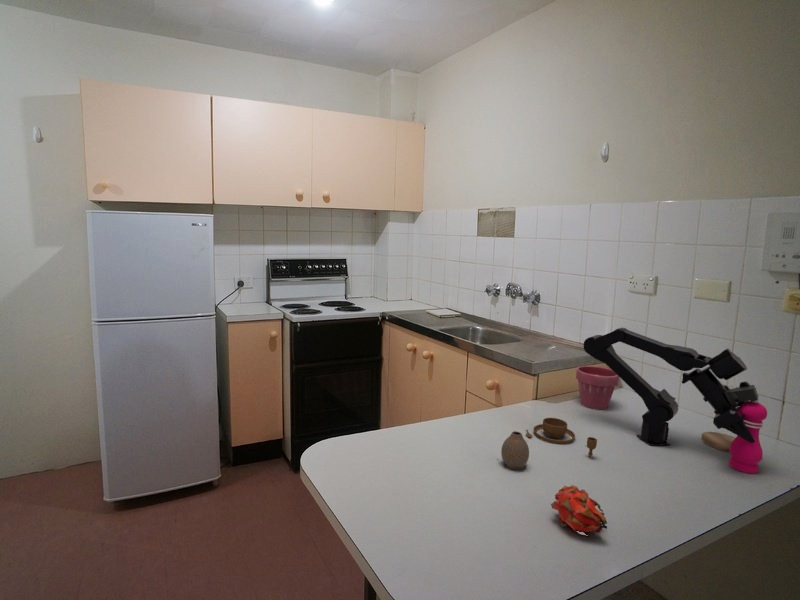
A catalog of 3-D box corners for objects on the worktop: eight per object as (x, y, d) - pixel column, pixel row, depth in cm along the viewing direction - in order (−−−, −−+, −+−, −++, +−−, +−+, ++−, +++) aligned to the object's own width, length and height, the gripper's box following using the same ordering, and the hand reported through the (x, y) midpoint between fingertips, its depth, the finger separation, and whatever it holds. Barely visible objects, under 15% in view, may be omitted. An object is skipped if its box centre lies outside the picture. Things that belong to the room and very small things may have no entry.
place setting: (579, 432, 146) (581, 414, 145) (598, 462, 126) (601, 441, 125) (521, 426, 148) (523, 408, 147) (532, 456, 128) (534, 435, 127)
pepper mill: (750, 476, 121) (763, 402, 119) (721, 464, 128) (733, 393, 125) (765, 471, 125) (778, 399, 122) (735, 459, 131) (747, 390, 128)
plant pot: (568, 396, 177) (572, 363, 176) (607, 399, 176) (611, 366, 174) (579, 410, 163) (583, 374, 162) (621, 414, 162) (625, 378, 160)
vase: (529, 463, 123) (533, 431, 121) (525, 474, 116) (528, 441, 115) (503, 456, 125) (506, 425, 124) (497, 467, 119) (500, 434, 118)
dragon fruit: (552, 515, 102) (599, 555, 93) (535, 504, 97) (583, 545, 88) (574, 483, 103) (623, 519, 93) (558, 470, 98) (608, 507, 89)
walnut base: (721, 453, 135) (722, 448, 135) (692, 436, 146) (693, 432, 145) (754, 452, 137) (755, 447, 136) (723, 436, 147) (724, 431, 147)
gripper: (735, 380, 118) (784, 435, 113) (743, 367, 132) (786, 416, 127) (694, 401, 124) (739, 455, 119) (706, 387, 138) (746, 434, 133)
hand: (754, 439), depth 124 cm, fingers closed on pepper mill, 5 cm apart
